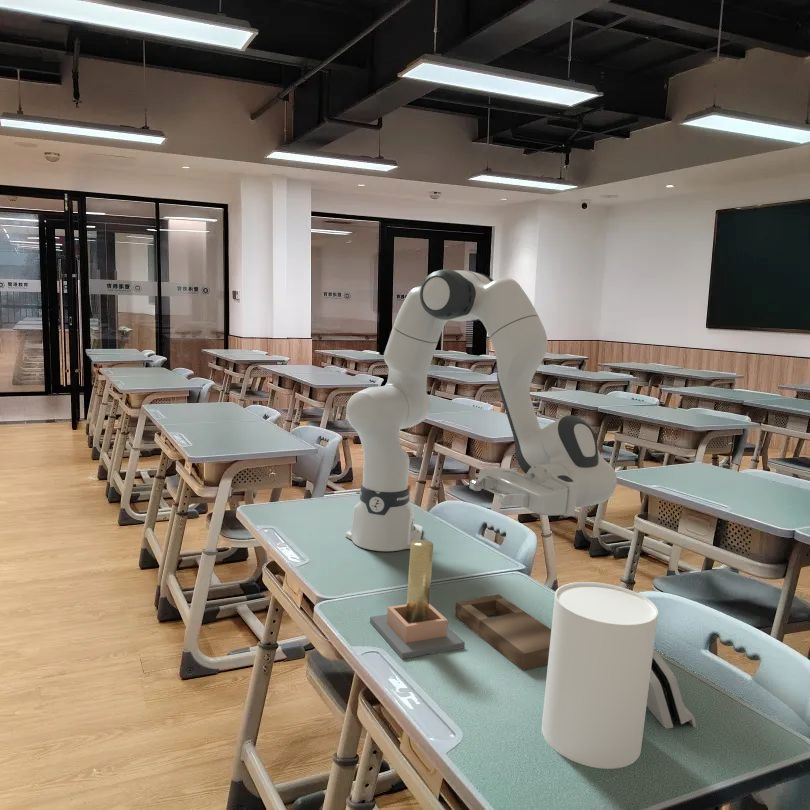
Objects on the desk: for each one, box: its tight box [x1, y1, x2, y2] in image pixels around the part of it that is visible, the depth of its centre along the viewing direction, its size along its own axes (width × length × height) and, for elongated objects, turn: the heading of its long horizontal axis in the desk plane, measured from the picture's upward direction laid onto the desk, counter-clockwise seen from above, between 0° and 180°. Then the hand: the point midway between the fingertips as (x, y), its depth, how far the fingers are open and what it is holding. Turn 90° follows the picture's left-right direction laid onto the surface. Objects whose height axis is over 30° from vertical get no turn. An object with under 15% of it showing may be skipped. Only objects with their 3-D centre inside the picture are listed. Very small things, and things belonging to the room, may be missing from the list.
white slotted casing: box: [646, 648, 697, 729], centre depth 107 cm, size 17×5×10 cm, turn 8°
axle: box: [405, 539, 434, 624], centre depth 122 cm, size 4×4×16 cm
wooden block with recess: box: [454, 593, 552, 671], centre depth 124 cm, size 21×10×3 cm, turn 28°
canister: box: [541, 581, 659, 770], centre depth 95 cm, size 14×14×20 cm
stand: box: [369, 603, 466, 660], centre depth 123 cm, size 14×12×4 cm
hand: (485, 492), depth 126 cm, fingers open, 8 cm apart
